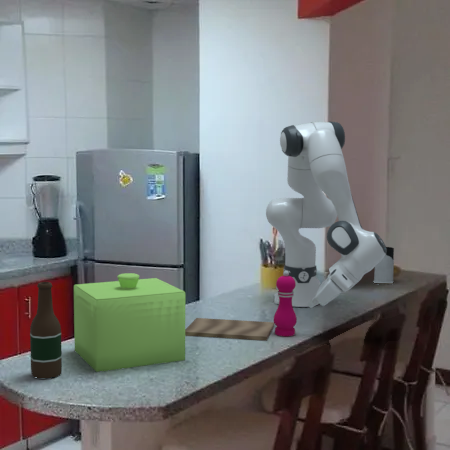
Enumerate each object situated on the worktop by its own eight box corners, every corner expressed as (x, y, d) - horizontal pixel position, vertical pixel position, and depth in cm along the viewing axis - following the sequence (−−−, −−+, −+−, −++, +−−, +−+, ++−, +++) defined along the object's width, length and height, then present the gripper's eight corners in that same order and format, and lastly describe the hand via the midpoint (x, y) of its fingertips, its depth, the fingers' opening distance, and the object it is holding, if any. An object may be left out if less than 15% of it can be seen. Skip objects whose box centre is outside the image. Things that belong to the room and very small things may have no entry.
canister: (96, 372, 193) (95, 285, 191) (74, 351, 212) (73, 271, 210) (185, 360, 204) (185, 277, 202) (156, 341, 223) (156, 265, 221)
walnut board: (183, 335, 230) (183, 331, 229) (196, 321, 247) (196, 317, 247) (266, 340, 225) (266, 336, 224) (274, 325, 242) (274, 322, 242)
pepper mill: (295, 337, 228) (296, 273, 226) (271, 336, 230) (272, 272, 227) (297, 331, 235) (299, 269, 233) (274, 330, 237) (276, 268, 234)
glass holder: (373, 284, 312) (374, 249, 310) (372, 278, 326) (373, 244, 324) (394, 285, 311) (396, 249, 309) (392, 279, 325) (394, 245, 323)
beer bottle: (33, 370, 194) (31, 279, 191) (63, 369, 195) (62, 279, 192) (28, 380, 187) (26, 285, 184) (59, 379, 187) (58, 285, 184)
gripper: (337, 262, 237) (305, 291, 240) (333, 274, 217) (299, 305, 220) (350, 277, 237) (319, 305, 240) (348, 290, 217) (314, 321, 220)
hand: (309, 305), depth 230 cm, fingers closed
